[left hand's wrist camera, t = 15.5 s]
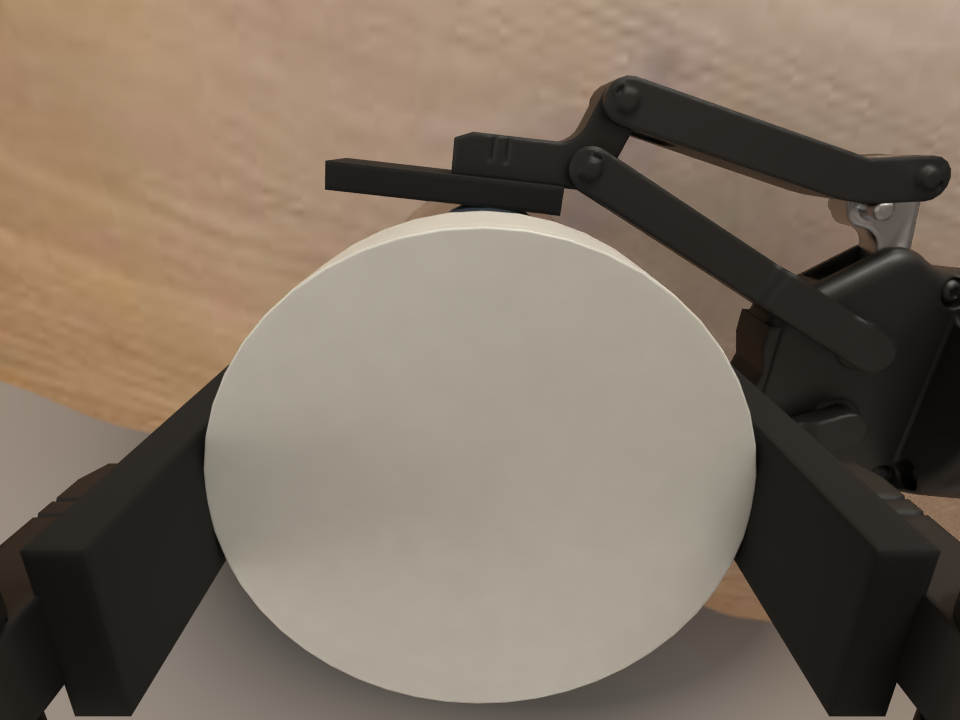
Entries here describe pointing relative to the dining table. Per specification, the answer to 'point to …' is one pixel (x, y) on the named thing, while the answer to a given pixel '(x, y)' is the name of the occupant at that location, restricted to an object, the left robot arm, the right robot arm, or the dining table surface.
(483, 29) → the dining table surface
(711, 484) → the lid
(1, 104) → the dining table surface
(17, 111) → the dining table surface
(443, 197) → the right robot arm
